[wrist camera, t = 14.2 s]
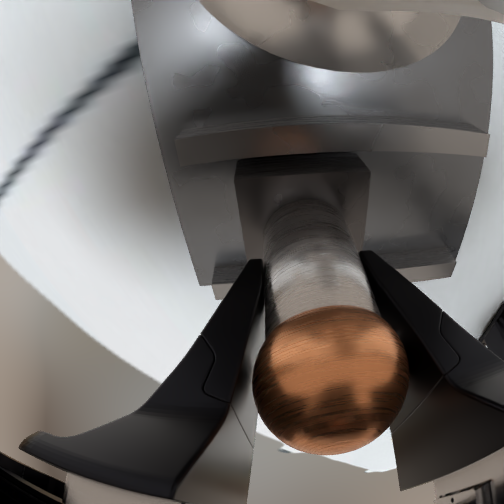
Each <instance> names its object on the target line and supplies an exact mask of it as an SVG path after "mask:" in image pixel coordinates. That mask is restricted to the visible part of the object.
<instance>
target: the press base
mask: <svg viewBox="0 0 504 504" xmlns="http://www.w3.org/2000/svg"><path fill="white" fill-rule="evenodd" d="M131 2H132V9H133V16H134V22H135V28H136V34H137V40H138V46H139V51H140V57H141V62H142V67H143V72H144V77H145V82H146V87H147V92H148V97H149V101H150V106H151V110H152V115H153V119H154V124H155V128H156V132H157V136H158V140H159V145H160V149H161V153H162V157H163V161H164V164H165V168H166V172H167V176H168V180H169V184H170V187H171V191H172V195H173V198H174V202H175V205H176V209H177V213H178V216H179V219H180V223H181V226H182V230H183V233H184V237H185V240H186V243H187V247H188V250H189V253H190V256H191V260H192V263H193V266H194V269H195V272H196V275H197V278H198V282H199V285H200V286H206V285H212V288H213V292H214V295H215V298H216V300H222V299H224V297H225V296H226V294H227V293H228V291H229V290H230V288H231V286H232V285H233V283H234V282H235V280H236V279H237V277H238V276H239V274H240V273H241V271H242V270H243V268H244V267H245V265H246V264H247V258H246V252H245V246H244V240H243V234H242V228H241V222H240V216H239V209H238V203H237V197H236V191H235V185H234V176H235V170H236V164H237V161H240V160H249V159H260V158H271V157H283V156H298V155H315V154H340V153H356V154H357V155H358V156H359V157H360V159H361V160H362V161H363V162H364V163H365V165H366V166H367V167H368V168H369V170H370V171H371V176H370V188H369V199H368V209H367V218H366V227H365V234H364V242H363V249H362V251H364V250H372V251H373V252H375V253H376V254H377V255H378V256H380V257H381V258H382V259H383V260H385V261H386V262H387V263H388V264H389V265H391V266H392V267H393V268H394V269H396V270H397V271H398V272H399V273H400V274H402V275H403V276H404V277H405V278H406V279H408V280H409V281H410V282H418V281H425V280H433V279H440V278H447V277H451V275H452V273H453V270H454V267H455V265H456V261H455V260H456V257H457V254H458V251H459V249H460V246H461V243H462V240H463V237H464V234H465V230H466V227H467V224H468V221H469V217H470V214H471V210H472V207H473V203H474V199H475V195H476V191H477V187H478V183H479V178H480V174H481V169H482V164H483V159H484V157H486V155H487V149H488V143H489V137H490V135H489V134H488V127H489V119H490V110H491V98H492V80H493V42H492V25H491V21H489V20H484V19H479V18H473V17H467V16H460V15H452V14H443V13H432V12H415V11H372V12H371V11H355V10H337V9H335V8H332V7H329V6H326V5H323V4H320V3H317V2H313V1H310V0H131Z"/></svg>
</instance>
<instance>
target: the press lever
mask: <svg viewBox="0 0 504 504" xmlns="http://www.w3.org/2000/svg"><path fill="white" fill-rule="evenodd" d="M370 176H371V171H370V170H369V168H368V167H367V166H366V165H365V163H364V162H363V161H362V160H361V159H360V157H359V156H358V155H357V154H356V153H340V154H315V155H298V156H283V157H271V158H260V159H249V160H240V161H237V164H236V170H235V176H234V185H235V191H236V197H237V203H238V209H239V216H240V222H241V228H242V234H243V240H244V246H245V252H246V258H247V262H248V261H249V260H250V259H259V258H261V259H262V260H263V265H264V298H265V341H264V343H263V344H262V346H261V348H260V350H259V353H258V355H257V357H256V360H255V364H254V369H253V375H252V391H253V397H254V402H255V405H256V408H257V411H258V413H259V415H260V417H261V419H262V420H263V422H264V424H265V425H266V426H267V428H268V429H269V430H270V431H271V432H272V433H273V434H274V435H275V436H276V437H277V438H278V439H279V440H281V441H282V442H284V443H285V444H287V445H288V446H290V447H293V448H295V449H297V450H299V451H303V452H306V453H310V454H317V455H336V454H342V453H347V452H350V451H354V450H356V449H359V448H361V447H363V446H365V445H367V444H369V443H370V442H372V441H373V440H375V439H376V438H377V437H379V436H380V435H381V434H382V433H383V432H384V431H385V430H386V429H387V428H388V427H389V426H390V425H391V424H392V422H393V421H394V420H395V418H396V417H397V415H398V414H399V412H400V410H401V408H402V406H403V403H404V401H405V398H406V395H407V391H408V387H409V362H408V358H407V354H406V351H405V348H404V346H403V343H402V341H401V339H400V338H399V336H398V335H397V333H396V332H395V330H394V329H393V328H392V327H391V326H390V325H389V323H387V322H386V321H385V320H384V319H383V318H381V315H380V312H379V309H378V306H377V303H376V300H375V297H374V294H373V291H372V289H371V286H370V283H369V280H368V278H367V275H366V272H365V270H364V267H363V264H362V262H361V259H360V257H359V252H360V251H362V249H363V242H364V234H365V227H366V218H367V209H368V199H369V188H370Z"/></svg>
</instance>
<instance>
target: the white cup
mask: <svg viewBox="0 0 504 504" xmlns="http://www.w3.org/2000/svg"><path fill="white" fill-rule="evenodd" d="M310 1H313V2H317V3H320V4H323V5H326V6H329V7H332V8H335V9H337V10H355V11H371V12H372V11H415V12H432V13H443V14H452V15H460V16H467V17H473V18H479V19H484V20H489V21H494V22H498V23H503V24H504V0H310Z"/></svg>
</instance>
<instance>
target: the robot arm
mask: <svg viewBox="0 0 504 504" xmlns="http://www.w3.org/2000/svg"><path fill="white" fill-rule="evenodd" d="M359 257H360V259H361V262H362V264H363V267H364V270H365V272H366V275H367V278H368V280H369V283H370V286H371V289H372V291H373V294H374V297H375V300H376V303H377V306H378V309H379V312H380V315H381V318H383V319H384V320H385V321H386V322H387V323H389V325H390V326H391V327H392V328H393V329H394V330H395V332H396V333H397V335H398V336H399V338H400V339H401V341H402V343H403V346H404V348H405V351H406V354H407V358H408V362H409V387H408V391H407V395H406V398H405V401H404V403H403V406H402V408H401V410H400V412H399V414H398V415H397V417H396V418H395V420H394V421H393V422H392V424H391V425H390V430H391V433H392V434H391V436H392V441H393V447H394V453H395V459H396V465H397V472H398V479H399V486H400V491H403V490H406V489H410V488H413V487H416V486H419V485H423V484H426V483H428V482H431V481H433V483H434V490H435V498H436V499H435V500H434V504H504V304H503V305H502V307H501V308H500V310H499V312H498V313H497V315H496V316H495V318H494V320H493V321H492V323H491V324H490V326H489V327H488V329H487V330H486V332H485V333H484V335H483V336H482V338H481V339H480V340H479V341H478V340H477V339H476V338H474V337H473V336H472V335H471V334H469V333H468V332H467V331H466V330H465V329H463V328H462V327H461V326H460V325H459V324H458V323H456V322H455V321H454V320H453V319H452V318H451V317H450V316H449V315H448V314H446V313H445V312H444V311H443V312H442V309H441V308H440V307H439V306H437V305H436V304H435V303H434V302H433V301H432V300H431V299H430V298H428V297H427V296H426V295H425V294H424V293H423V292H422V291H420V290H419V289H418V288H417V287H416V286H415V285H413V284H412V283H411V282H410V281H409V280H408V279H406V278H405V277H404V276H403V275H402V274H400V273H399V272H398V271H397V270H396V269H394V268H393V267H392V266H391V265H389V264H388V263H387V262H386V261H385V260H383V259H382V258H381V257H380V256H378V255H377V254H376V253H375V252H373V251H372V250H364V251H360V252H359ZM264 341H265V298H264V265H263V260H262V259H261V258H259V259H250V260H249V261H248V262H247V264H246V265H245V267H244V268H243V270H242V271H241V273H240V274H239V276H238V277H237V279H236V280H235V282H234V283H233V285H232V286H231V288H230V290H229V291H228V293H227V294H226V296H225V297H224V299H223V300H222V302H221V303H220V305H219V306H218V308H217V309H216V311H215V312H214V314H213V315H212V317H211V318H210V320H209V321H208V323H207V324H206V326H205V327H204V329H203V331H202V332H201V335H199V336H198V338H197V339H196V341H195V342H194V344H193V345H192V347H191V348H190V350H189V351H188V353H187V354H186V355H185V357H184V358H183V359H182V360H181V362H180V363H179V364H178V365H177V367H176V368H175V369H174V370H173V371H172V373H171V374H170V375H169V376H168V377H167V378H166V380H165V381H164V382H163V383H162V384H161V385H160V387H159V388H158V389H157V390H156V391H155V392H154V393H153V395H152V396H151V397H150V398H149V399H148V400H147V401H146V403H144V404H143V405H142V406H141V407H140V408H138V409H137V410H136V411H134V412H133V413H131V414H129V415H126V416H124V417H122V418H119V419H117V420H114V421H112V422H110V423H108V424H105V425H102V426H100V427H97V428H95V429H92V430H89V431H87V432H84V433H82V434H78V435H75V436H70V437H58V436H54V435H52V434H49V433H46V432H44V431H37V432H36V433H34V434H32V435H30V436H28V437H27V438H26V439H24V440H23V441H22V442H21V444H20V445H19V449H21V450H22V451H24V452H26V453H28V454H30V455H32V456H34V457H35V458H37V459H40V460H42V461H44V462H46V463H48V464H50V465H52V466H54V467H56V468H59V469H61V470H63V471H66V472H67V477H66V482H63V481H61V480H59V479H56V478H54V477H52V476H49V475H47V474H45V473H43V472H40V471H38V470H36V469H34V468H31V467H29V466H27V465H25V464H23V463H21V462H19V461H17V460H15V459H13V458H11V457H9V456H8V455H6V454H4V453H2V452H0V504H247V497H248V489H249V482H250V474H251V466H252V458H253V448H254V442H255V434H256V425H257V416H258V411H257V408H256V405H255V402H254V397H253V391H252V375H253V369H254V364H255V360H256V357H257V355H258V353H259V350H260V348H261V346H262V344H263V343H264ZM486 345H487V347H488V348H487V347H486Z"/></svg>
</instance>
